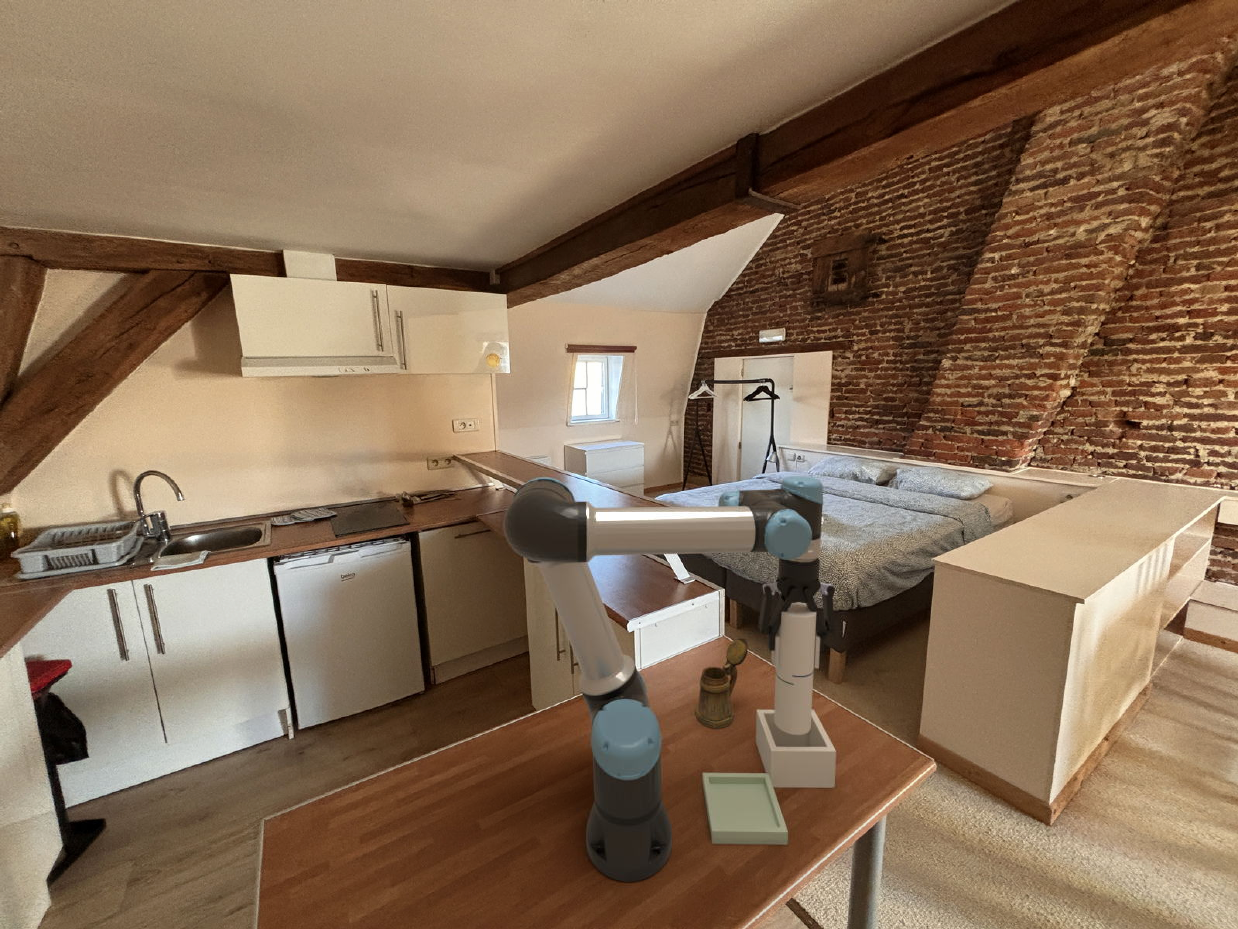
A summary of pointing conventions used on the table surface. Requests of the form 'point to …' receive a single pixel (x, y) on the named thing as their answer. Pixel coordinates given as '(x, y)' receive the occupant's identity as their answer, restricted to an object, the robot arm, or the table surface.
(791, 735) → the hollow square frame
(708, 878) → the table surface
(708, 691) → the wooden mug
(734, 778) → the tray
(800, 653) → the cylindrical container
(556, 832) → the table surface
